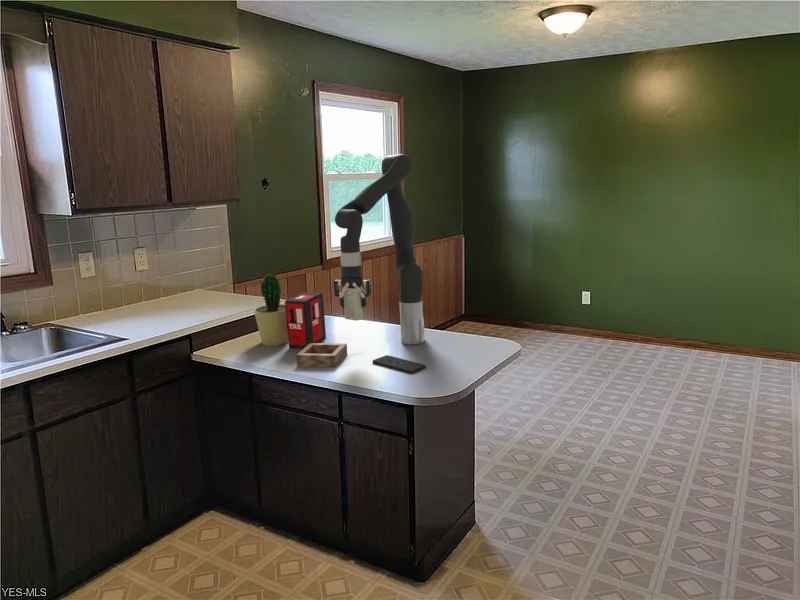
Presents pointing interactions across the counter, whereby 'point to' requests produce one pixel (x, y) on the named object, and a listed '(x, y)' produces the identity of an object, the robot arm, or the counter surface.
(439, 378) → the counter surface
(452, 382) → the counter surface
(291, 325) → the cleaning product box
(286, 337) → the potted cactus
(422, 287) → the robot arm
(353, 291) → the skincare box
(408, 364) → the smart home device
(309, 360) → the block
